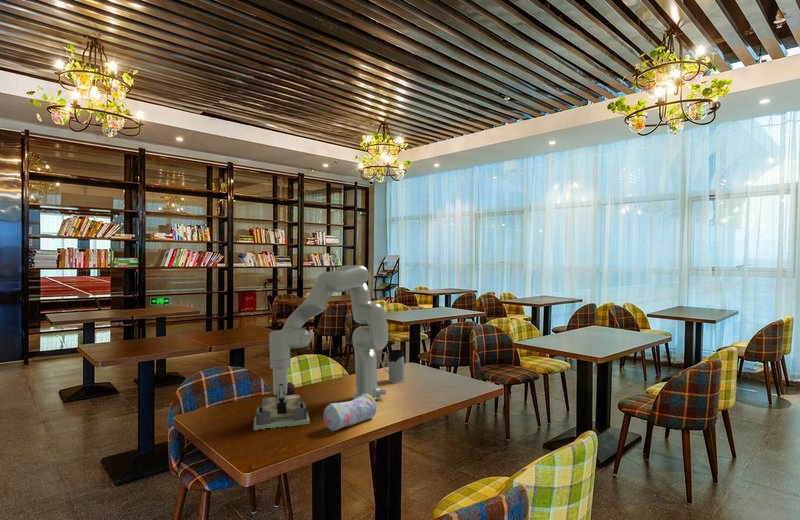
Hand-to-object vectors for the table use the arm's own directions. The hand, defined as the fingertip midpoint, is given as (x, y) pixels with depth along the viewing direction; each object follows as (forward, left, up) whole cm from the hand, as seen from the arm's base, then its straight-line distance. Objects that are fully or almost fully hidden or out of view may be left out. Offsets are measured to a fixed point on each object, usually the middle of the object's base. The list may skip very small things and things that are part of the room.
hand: (281, 410), depth 175 cm
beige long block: (0, 0, -1) cm, 1 cm away
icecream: (+14, -32, -5) cm, 35 cm away
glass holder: (-25, -68, -5) cm, 73 cm away
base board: (0, 0, -4) cm, 4 cm away
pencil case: (-27, -3, -5) cm, 27 cm away
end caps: (0, 0, -3) cm, 3 cm away
